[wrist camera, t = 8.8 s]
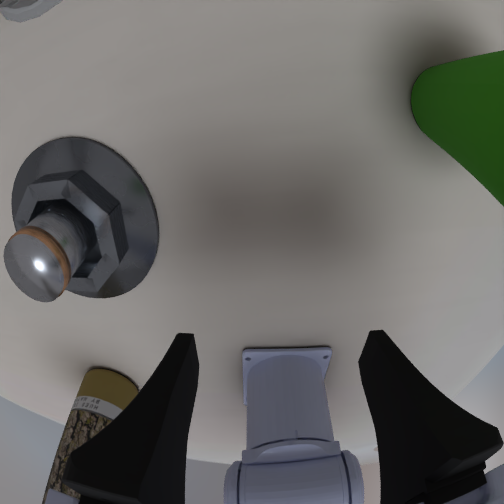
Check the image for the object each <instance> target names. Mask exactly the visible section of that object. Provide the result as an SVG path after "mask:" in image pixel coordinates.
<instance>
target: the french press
mask: <svg viewBox="0 0 504 504" xmlns="http://www.w3.org/2000/svg"><path fill="white" fill-rule="evenodd" d="M61 1H62V0H0V12H1V13H2V14H3V16H4V17H5V18H6V19H7V20H12V21H16V22H23V21H26V20H29V19H33V18H36V17H39V16H41V15H42V14H44V13H45V12H46V11H48V10H49V9H51V8H52V7H54V6H55V5H57V4H58V3H60V2H61Z"/></svg>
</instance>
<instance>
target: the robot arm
mask: <svg viewBox="0 0 504 504" xmlns="http://www.w3.org/2000/svg"><path fill="white" fill-rule="evenodd" d="M325 355H326V356H325ZM331 355H332V350H331V348H329V347H320V348H294V349H246V350H244V351H243V352H242V360H243V397H244V405H246V406H247V448H246V450H243V451H242V461H235V462H233V464H232V465H231V466H230V467H229V468H228V469H227V472H226V475H225V481H224V504H364V484H363V478H362V472H361V468H360V464H359V462H358V459H357V458H356V456H355V455H353V454H352V453H351V452H350V451H348V450H343V451H341V450H340V444H339V441H334V436H333V430H332V424H331V418H330V413H329V407H328V401H327V396H326V391H325V385H324V378H325V375H326V372H327V368H328V365H329V362H330V358H331ZM247 357H249V358H247ZM358 363H359V369H360V375H361V381H362V385H363V389H364V392H365V395H366V399H367V402H368V406H369V409H370V412H371V416H372V419H373V423H374V427H375V432H376V438H377V445H378V453H379V463H380V480H381V501H380V504H504V464H502V465H500V466H499V467H497V468H495V469H493V470H491V471H489V472H488V473H486V474H484V471H483V470H484V469H485V468H486V464H485V461H486V460H487V459H488V458H490V457H491V456H492V455H493V454H495V453H496V452H497V451H498V450H500V449H501V448H502V446H503V441H502V438H501V436H500V433H499V430H498V428H497V427H495V426H493V425H491V424H488V423H486V422H484V421H482V420H480V419H479V418H477V417H475V416H473V415H472V414H470V413H469V412H467V411H465V410H464V409H462V408H461V407H460V406H458V405H457V404H455V403H454V402H453V401H451V400H450V399H449V398H447V397H446V396H445V395H444V394H443V393H442V392H440V391H439V390H438V389H437V388H436V387H435V386H434V385H432V384H431V383H430V382H429V381H428V380H427V379H426V378H425V377H424V376H423V375H422V374H421V373H420V372H419V371H418V369H417V368H416V367H415V366H414V365H413V364H412V363H411V362H410V361H409V360H408V359H407V357H406V356H405V355H404V354H403V353H402V352H401V350H400V349H399V348H398V347H397V346H396V345H395V343H394V342H393V341H392V340H391V339H390V337H389V336H388V335H387V334H386V333H385V332H384V331H383V330H374V331H370V332H369V335H368V337H367V340H366V343H365V346H364V348H363V351H362V354H361V356H360V359H359V361H358ZM198 376H199V361H198V355H197V350H196V344H195V339H194V334H190V333H178V334H177V335H176V337H175V339H174V341H173V342H172V344H171V346H170V348H169V349H168V351H167V353H166V354H165V356H164V358H163V359H162V361H161V362H160V364H159V365H158V367H157V368H156V370H155V371H154V373H153V374H152V376H151V377H150V378H149V380H148V381H147V382H146V384H145V385H144V386H143V388H142V389H141V390H140V392H139V393H138V394H137V395H136V396H135V398H134V399H133V400H132V401H131V402H130V403H129V404H128V406H127V407H126V408H125V409H124V410H123V411H122V412H121V413H120V414H119V415H118V416H117V417H116V418H115V419H114V420H113V421H112V422H110V423H109V424H108V425H107V426H106V427H105V428H103V429H102V430H101V431H100V432H99V433H97V434H96V435H95V436H94V437H92V438H91V439H90V440H88V441H87V442H85V443H84V444H82V445H81V446H79V447H78V448H77V449H75V450H74V451H72V452H71V453H70V455H69V457H68V459H67V462H66V465H65V468H64V472H63V476H62V479H61V480H62V482H63V483H64V484H65V485H66V486H68V487H69V488H71V489H72V490H74V491H76V492H77V493H79V494H81V496H80V500H78V499H76V498H74V497H71V496H69V495H66V494H63V493H61V492H58V491H56V490H53V489H51V488H50V489H49V490H48V494H47V497H46V501H45V504H185V470H186V453H187V440H188V433H189V428H190V422H191V417H192V412H193V407H194V402H195V397H196V392H197V387H198Z"/></svg>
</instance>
